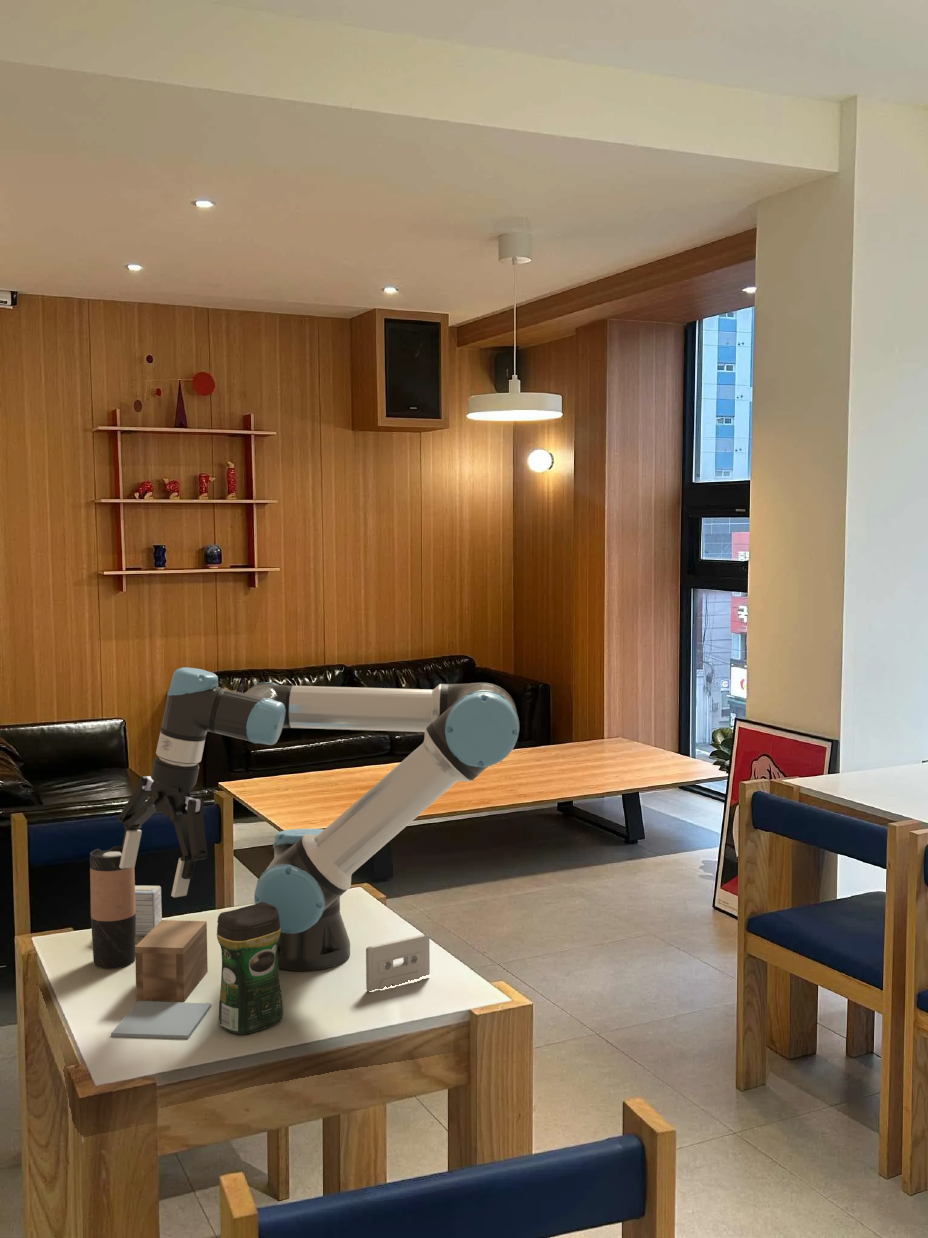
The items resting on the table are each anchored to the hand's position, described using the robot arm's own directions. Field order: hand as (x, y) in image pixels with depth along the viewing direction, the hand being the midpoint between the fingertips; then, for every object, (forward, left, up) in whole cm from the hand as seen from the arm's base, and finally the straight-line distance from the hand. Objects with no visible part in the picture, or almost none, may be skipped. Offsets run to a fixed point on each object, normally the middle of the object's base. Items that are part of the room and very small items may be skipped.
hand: (152, 881), depth 194 cm
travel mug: (+11, -9, -18) cm, 23 cm away
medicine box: (+12, -24, -18) cm, 33 cm away
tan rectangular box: (-3, +1, -18) cm, 18 cm away
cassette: (-41, -2, -18) cm, 45 cm away
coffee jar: (-20, +15, -18) cm, 31 cm away
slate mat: (-6, +15, -18) cm, 24 cm away
